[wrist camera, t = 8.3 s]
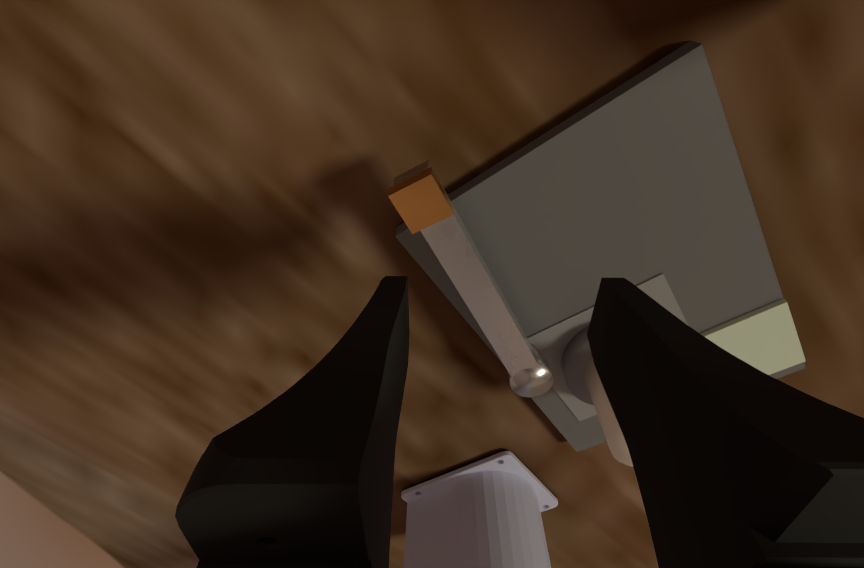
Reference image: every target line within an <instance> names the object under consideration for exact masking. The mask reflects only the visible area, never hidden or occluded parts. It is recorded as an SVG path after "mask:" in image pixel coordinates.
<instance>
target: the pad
mask: <svg viewBox="0 0 864 568" xmlns="http://www.w3.org/2000/svg"><path fill="white" fill-rule="evenodd" d="M700 334H701V335H703V336H704V337H706V338H707V339H709V340H710V341H712V342H713V343H715V344H716V345H718V346H719V347H721V348H722V349H724V350H725V351H727V352H729V353H730V354H732V355H734V356H735V357H737V358H739V359H741V360H742V361H744V362H746V363H748V364H749V365H751V366H753V367H754V368H756V369H758V370H760V371H762V372H764V373H765V374H767V375H770V374H773V373H776V372H778V371H781V370H784V369H786V368H789V367H792V366H794V365H797V364H800V363H802V362H805V361H806V360H805V357H804V354H803V351H802V348H801V345H800V341H799V338H798V335H797V332H796V329H795V326H794V322H793V319H792V316H791V313H790V310H789V307H788V303H787V301H786V300H785V299H781V300H778V301H776V302H774V303H771V304H769V305H766V306H764V307H762V308H759V309H757V310H755V311H752V312H750V313H747V314H745V315H743V316H740V317H738V318H736V319H733V320H731V321H728V322H726V323H724V324H721V325H719V326H717V327H714V328H712V329H709V330H707V331H705V332H702V333H700Z"/></svg>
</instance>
